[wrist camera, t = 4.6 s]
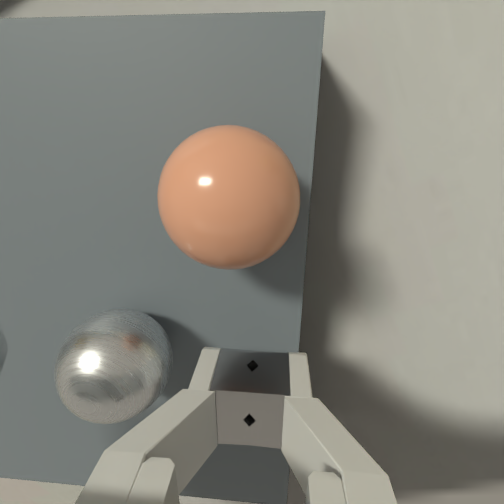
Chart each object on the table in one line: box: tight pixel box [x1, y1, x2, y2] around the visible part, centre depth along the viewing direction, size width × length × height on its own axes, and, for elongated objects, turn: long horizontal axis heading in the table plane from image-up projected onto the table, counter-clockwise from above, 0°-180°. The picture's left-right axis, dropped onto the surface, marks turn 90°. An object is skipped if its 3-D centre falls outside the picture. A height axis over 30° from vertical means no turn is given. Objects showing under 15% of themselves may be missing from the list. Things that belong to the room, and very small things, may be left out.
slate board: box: [0, 11, 325, 504], centre depth 12 cm, size 20×18×2 cm
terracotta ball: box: [157, 125, 300, 270], centre depth 7 cm, size 3×3×3 cm
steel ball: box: [54, 309, 173, 424], centre depth 9 cm, size 3×3×3 cm
